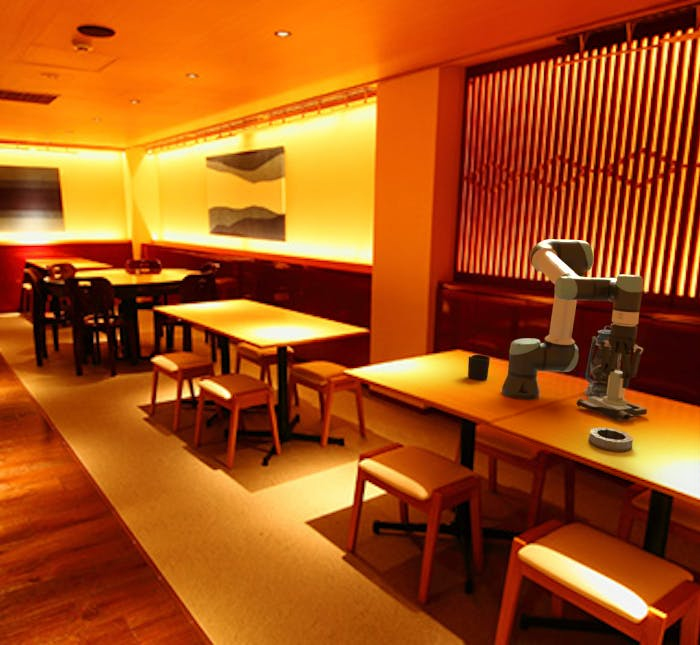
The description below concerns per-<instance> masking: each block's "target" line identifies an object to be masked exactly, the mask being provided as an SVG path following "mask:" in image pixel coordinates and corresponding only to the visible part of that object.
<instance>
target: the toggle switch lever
mask: <svg viewBox="0 0 700 645" xmlns="http://www.w3.org/2000/svg"><path fill="white" fill-rule="evenodd" d="M622 377H623V370H620V371H618V370H616V369H615V371H612V372H610V379H609V387H608V396H604V397H603V402H604V403H606V404H609V405H613V406H626V404H627V402H628V400H627V399H626V398H624V397H623V398H618V391H619V383H620V378H622Z"/></svg>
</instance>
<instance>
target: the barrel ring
mask: <svg viewBox="0 0 700 645" xmlns="http://www.w3.org/2000/svg"><path fill="white" fill-rule="evenodd" d="M633 441H634V440H633V436H632V435H630V434H629V433H627V432H625V431H622V430H619V429H615V428H610V427H594V428H591V429H590V432H589V437H588V443H589V444H590V445H591V446H593V447H594V448H597V449H599V448H600V450H602V449H603V450H602V451H607V452H613V453H628V452H631V451H632V450H633Z"/></svg>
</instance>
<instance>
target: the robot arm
mask: <svg viewBox="0 0 700 645" xmlns="http://www.w3.org/2000/svg"><path fill="white" fill-rule="evenodd" d="M529 261H530V264H531V266H532V267H533V268H534V269H535V270H536V271H537V272H541V273H542V274H544V275H545V276H546V278H548V280H550V281H551V283H552V284H554V298H553V306H552V312H551V320H550V325H549V326H550V327H549V332H548V333H549V334H548V335H546V336H545V337H544V340H543V342H541V340H540V339H538V338H530V337H529V338H525V337H524V338H518V339H515V340H513V341H511V343H510V348H509V352H508V353H509V355H508V366H507V375H506V378H505V379H504V382H503V385H502V386H501V394H503V395H504V396H506V397H509V398H511V399H515V400H516V399H517V400H525V401H526V400H528V401H529V400H536V399H539V398H540V394H541V393H540V392H541V391H540V387H539V383H538V382H539V381H538V372H553V373H554V372H557V373H565V372H567V373H568V372H571V371H572V370H574V369H575V367H576V366H577V364H578V360H579V356H580V355H579V347H578V345H577V344H576V341H575V340H574V339H573V338H572V336H573V335H572V334H573V330H574V329H573V328H574V322H575V316H576V310H577V309H576V307H577V302H578V301H593V302H595V301H596V302H597V301H598V302H612V303H613V307H612V317H611V322H612V323H611V324H610V326H611V328H610V329H609V330H610V338H609V339H608V340H605V341H601V342H600V344H601V348H602V356H601V370H602V371H604V372H605V373H606V374H607V375H606V384H608V387H609V379H610V372H612V371H614V369H615V368H616V367H617V359H618V355H619V354H620V353H621V363H622V365H621V366H622V372H623V377H622V378H620V383H619V391H618V398H623V399H624V398H625V394H626V389H628V388H629V384H630V379H633V378H636V377H637V374H638V371H639V364H640V362H641V356H642V354H643V353H644V351H645V348H644V347H641V346H639V345H638V344H637V341H636V339H637V334H638V326H637V325H639V316H640V309H641V303H642V296H643V291H644V286H643V284H644V279H643V277H642V276H641V275H635V274H619V275H617V277H616V278H615V277H610V276H609V277H585V276H586V272H589V271H590V270H591V269H592V267H593V264H594V253H593V249H592V246H591V245H590V243H589V242H587V241H584V240H578V239H544V240H542V241H540V242H538V243H536V244H535V245H534V246H533V247H532V248H531V250H530V253H529ZM610 345H611V347H612V350H611V356H610V360H609V346H610ZM632 351H633V355H631V353H632ZM631 356H632V360H631ZM615 370H616V369H615ZM608 387H607V395H608Z"/></svg>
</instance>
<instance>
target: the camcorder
mask: <svg viewBox="0 0 700 645" xmlns="http://www.w3.org/2000/svg"><path fill="white" fill-rule="evenodd" d="M576 406H577V407H582V408H584V409H587V410H588V411H592V412H596V413H597V414H600V415H602V416H604V417H606V418H610V419H612V420H614V421H617V422H618V421H622V422H627V421H629V420H632V419H634V418H635V417H637V416H645V415H647V413H648V410H647V409H646V408H645V407H643V406H640V405H638V404H635V403H632V402H630V401H629V402H628V401H627V404H626V406H613V405H609V404H606V403H604V402H603V397H601V398H599V397H595V396H593V397H589V396H588V398H587V399H586V400H584V399H583V398H578V400H577V401H576Z"/></svg>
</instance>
